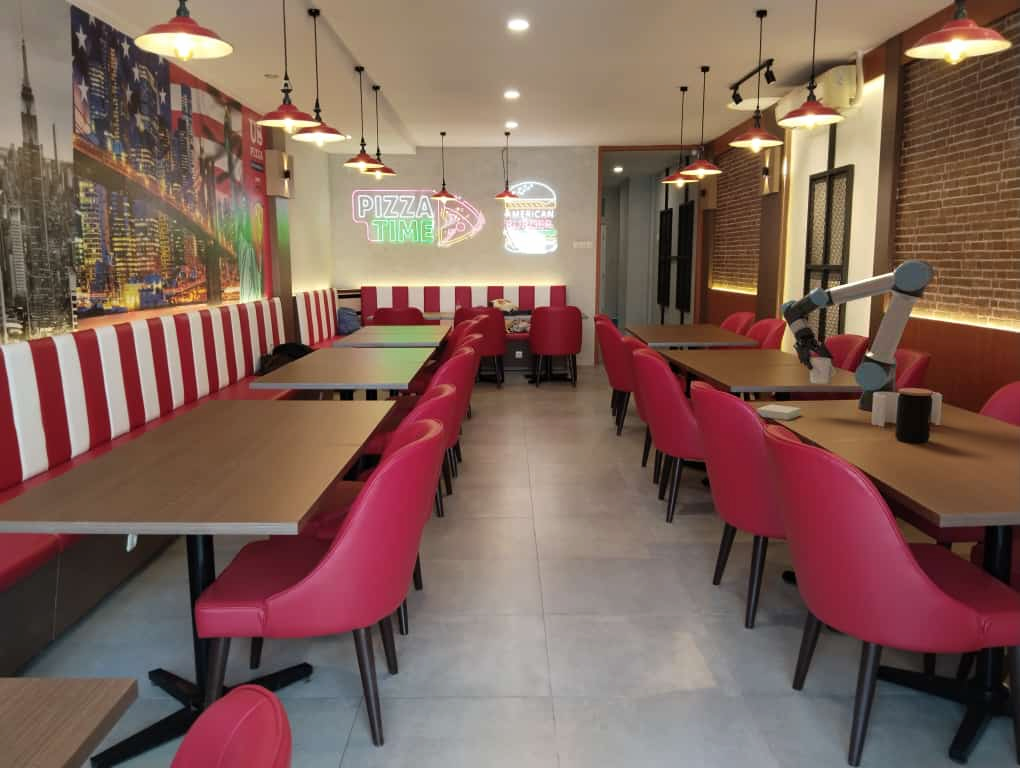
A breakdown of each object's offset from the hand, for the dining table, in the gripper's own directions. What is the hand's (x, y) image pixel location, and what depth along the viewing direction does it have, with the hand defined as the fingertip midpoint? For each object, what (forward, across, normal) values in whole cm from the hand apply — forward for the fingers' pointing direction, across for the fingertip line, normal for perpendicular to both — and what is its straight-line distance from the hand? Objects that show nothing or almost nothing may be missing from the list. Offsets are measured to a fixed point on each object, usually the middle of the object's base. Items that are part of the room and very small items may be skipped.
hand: (825, 375), depth 305 cm
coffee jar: (+44, -1, +21) cm, 49 cm away
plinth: (+8, +18, -16) cm, 25 cm away
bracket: (+28, -19, +4) cm, 35 cm away
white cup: (0, 0, -5) cm, 5 cm away
